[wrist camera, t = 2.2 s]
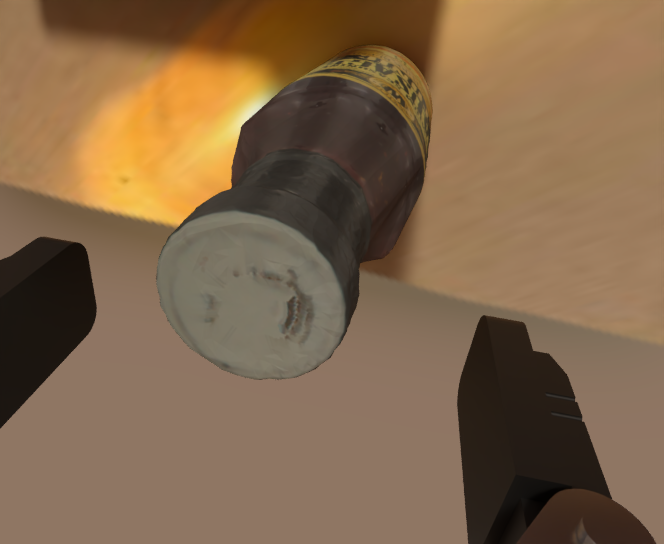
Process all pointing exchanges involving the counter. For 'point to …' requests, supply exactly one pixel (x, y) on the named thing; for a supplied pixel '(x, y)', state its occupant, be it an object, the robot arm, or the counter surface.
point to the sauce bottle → (300, 216)
